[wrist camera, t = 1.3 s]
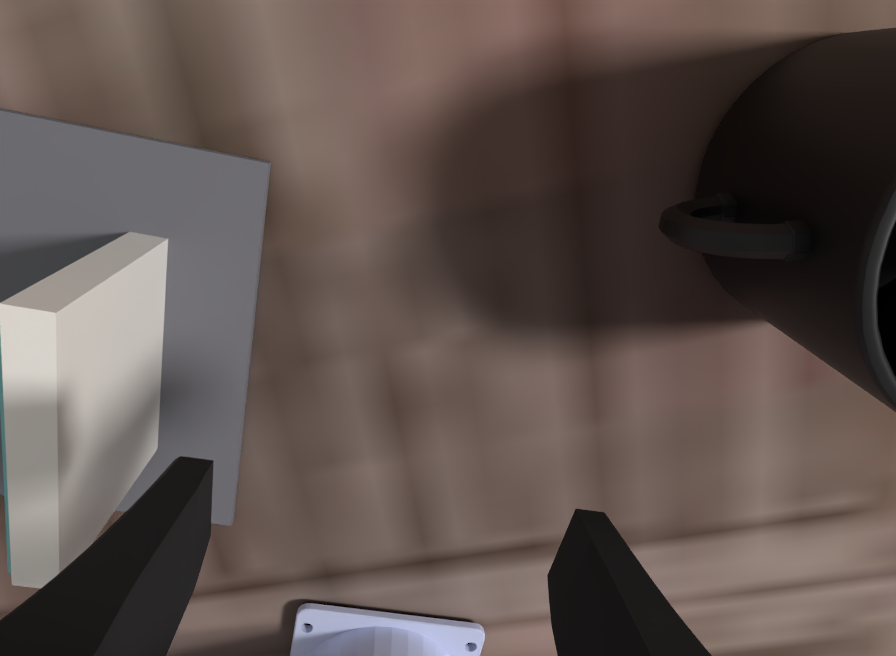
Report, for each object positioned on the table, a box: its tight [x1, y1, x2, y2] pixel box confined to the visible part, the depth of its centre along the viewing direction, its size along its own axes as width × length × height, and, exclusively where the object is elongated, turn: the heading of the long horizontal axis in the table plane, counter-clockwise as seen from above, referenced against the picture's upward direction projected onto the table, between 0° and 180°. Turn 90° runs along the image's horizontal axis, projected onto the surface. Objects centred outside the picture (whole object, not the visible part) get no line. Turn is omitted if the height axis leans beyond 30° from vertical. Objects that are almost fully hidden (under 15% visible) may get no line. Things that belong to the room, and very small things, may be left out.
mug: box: [659, 28, 896, 412], centre depth 17 cm, size 9×12×9 cm
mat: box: [0, 108, 271, 526], centre depth 22 cm, size 14×13×1 cm
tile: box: [0, 232, 168, 588], centre depth 19 cm, size 8×1×7 cm, turn 168°
